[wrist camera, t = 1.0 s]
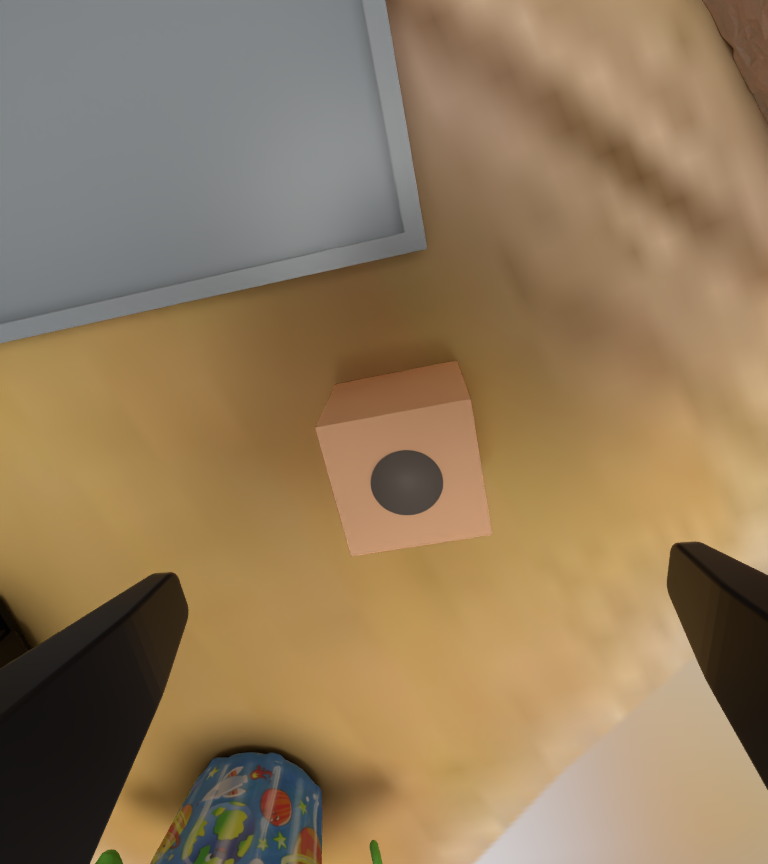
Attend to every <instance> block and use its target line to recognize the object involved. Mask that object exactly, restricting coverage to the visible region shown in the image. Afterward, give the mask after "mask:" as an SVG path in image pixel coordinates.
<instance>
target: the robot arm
mask: <svg viewBox="0 0 768 864" xmlns="http://www.w3.org/2000/svg"><path fill="white" fill-rule="evenodd" d="M667 589H668V593H669V596H670V598H671V601H672V603H673V605H674V608H675V610H676V612H677V615H678V617H679V619H680V622H681V624H682V626H683V629H684V631H685V633H686V636H687V638H688V640H689V643H690V645H691V647H692V650H693V652H694V654H695V657H696V659H697V661H698V664H699V666H700V668H701V670H702V672H703V674H704V677H705V679H706V681H707V682H708V684H709V686H710V688H711V690H712V692H713V694H714V695H715V697H716V699H717V701H718V703H719V704H720V706H721V708H722V710H723V711H724V713H725V715H726V717H727V719H728V720H729V722H730V724H731V726H732V727H733V729H734V731H735V732H736V735H737V736H738V738H739V740H740V742H741V743H742V745H743V747H744V749H745V750H746V752H747V754H748V756H749V757H750V759H751V761H752V763H753V765H754V767H755V768H756V770H757V772H758V773H759V775H760V777H761V779H762V781H763V782H764V784H765V786H766V788H767V790H768V575H766V574H764V573H762V572H760V571H758V570H756V569H754V568H752V567H750V566H748V565H746V564H744V563H742V562H740V561H738V560H736V559H734V558H732V557H730V556H728V555H726V554H724V553H722V552H720V551H717V550H715V549H713V548H711V547H709V546H707V545H705V544H703V543H701V542H681V543H675V544H674V545H673V546H672V548H671V551H670V558H669V567H668V576H667ZM187 619H188V604H187V601H186V598H185V596H184V593H183V590H182V587H181V584H180V581H179V578H178V576H177V575H176V574H175V573H172V572H168V573H154V574H151V575H150V576H148V577H146V578H145V579H143V580H142V581H140V582H138V583H137V584H135V585H134V586H132V587H130V588H129V589H127V590H126V591H124V592H122V593H121V594H119V595H118V596H116V597H114V598H113V599H111V600H110V601H108V602H106V603H105V604H103V605H102V606H100V607H98V608H97V609H95V610H94V611H92V612H90V613H89V614H87V615H86V616H84V617H82V618H81V619H79V620H78V621H76V622H74V623H73V624H71V625H70V626H68V627H66V628H65V629H63V630H62V631H60V632H58V633H57V634H55V635H54V636H52V637H50V638H49V639H47V640H46V641H44V642H42V643H41V644H39V645H38V646H36V647H34V648H33V649H31V648H30V647H29V645H28V644H27V642H26V640H25V639H24V637H23V635H22V634H21V632H20V630H19V629H18V627H17V625H16V624H15V622H14V620H13V619H12V617H11V615H10V614H9V612H8V610H7V609H6V607H5V605H4V604H3V602H2V601H1V600H0V864H90V862H91V860H92V857H93V855H94V853H95V850H96V848H97V846H98V844H99V841H100V839H101V837H102V834H103V832H104V830H105V827H106V825H107V823H108V821H109V818H110V816H111V814H112V811H113V809H114V807H115V804H116V802H117V800H118V798H119V795H120V793H121V791H122V788H123V786H124V784H125V782H126V779H127V777H128V775H129V772H130V770H131V768H132V765H133V763H134V761H135V759H136V756H137V754H138V752H139V749H140V747H141V745H142V742H143V740H144V738H145V736H146V733H147V731H148V729H149V726H150V724H151V722H152V719H153V717H154V715H155V713H156V710H157V708H158V705H159V703H160V700H161V698H162V696H163V693H164V690H165V687H166V684H167V682H168V678H169V675H170V672H171V669H172V666H173V663H174V660H175V657H176V654H177V650H178V647H179V644H180V641H181V638H182V635H183V632H184V629H185V626H186V623H187Z"/></svg>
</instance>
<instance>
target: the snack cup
mask: <svg viewBox="0 0 768 864" xmlns="http://www.w3.org/2000/svg"><path fill="white" fill-rule="evenodd" d="M322 816H323V815H322V792H321V789H320V787H319V786H318V785H317V784H315V783H314V782H313V781H312V779H311V778H310V777H309V776H308V775H307V774H306V773H305V771H304V770H303V769H301V768H299V767H298V766H297V765H296V764H293V763H291V762H289V761H288V760H285V759H284V758H283V757H282V756H281V755H280V754H277V753H268V754H262V753H255V752H246V753H239V754H234V755H232V756H230V757H228V758H226V757H222V758H220V757H216V758H214V759H213V760H212V761H211V762H210V764H209V765H208V767H207V768H206V769H205V770H204V772H203V773H202V774H201V775H200V776H199V777H198V778H197V780H196V781H195V783H194V784H193V786H192V788H191V790H190V792H189V793H188V795H187V797H186V799H185V801H184V803H183V805H182V806H181V808H180V810H179V812H178V814H177V816H176V817H175V819H174V821H173V823H172V825H171V827H170V828H169V830H168V832H167V834H166V836H165V837H164V839H163V841H162V843H161V845H160V847H159V848H158V850H157V852H156V854H155V856H154V857H153V859H152V861H151V863H150V864H322V856H321V855H322ZM370 851H371V856H372V861H373V864H382V859H381V855H380V851H379V847H378V843H377V842H376V841H375V840H372V841H371V843H370ZM95 864H123V862H122V859H121V858H120V855H119V853H118V852H117V851H116V850H107V851H105V852H104V853H102V855H101V856H100V857H99V859H98V861H97V862H96V863H95Z"/></svg>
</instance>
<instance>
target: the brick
mask: <svg viewBox="0 0 768 864" xmlns="http://www.w3.org/2000/svg"><path fill="white" fill-rule="evenodd" d="M703 2H704V3H705V5H706V6H707V8H708V9H709V11H710V12H711V14H712V16H713V18H714V20H715V23H716V25H717V27H718V29H719V31H720V33H721V35H722V37H723V38H724V39H725V40H726V41H727V42H728V43H729V44H730V45H731V46H732V47H733V48H734V55H733V58H734V61H735V63H736V65H737V67H738V69H739V70H740V72H741V74H742V76H743V78H744V80H745V82H746V84H747V86H748V87H749V89H750V91H751V92H752V93H753V94H754V97H755V100H756V102H757V104H758V107H759V109H760V111H761V112H762V114H763V116H764V117H765V119H766V121H767V123H768V0H703Z"/></svg>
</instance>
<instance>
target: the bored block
mask: <svg viewBox="0 0 768 864" xmlns="http://www.w3.org/2000/svg"><path fill="white" fill-rule="evenodd" d="M315 429H316V433H317V437H318V440H319V444H320V447H321V451H322V454H323V458H324V462H325V465H326V469H327V472H328V476H329V479H330V483H331V486H332V490H333V494H334V497H335V501H336V504H337V508H338V511H339V515H340V518H341V522H342V526H343V529H344V533H345V536H346V540H347V543H348V547H349V550H350V554H351V556H358V555H364V554H371V553H377V552H384V551H390V550H397V549H403V548H410V547H416V546H423V545H429V544H436V543H442V542H449V541H455V540H462V539H468V538H475V537H482V536H488V535H492V530H491V524H490V517H489V511H488V505H487V498H486V492H485V486H484V479H483V473H482V467H481V460H480V454H479V448H478V441H477V435H476V429H475V422H474V416H473V410H472V403H471V398H470V395H469V393H468V390H467V387H466V384H465V382H464V379H463V376H462V374H461V371H460V368H459V365H458V363H457V360H456V361H451V362H446V363H441V364H436V365H431V366H426V367H421V368H415V369H410V370H405V371H400V372H395V373H390V374H385V375H380V376H375V377H370V378H364V379H359V380H354V381H349V382H344V383H339V384H335V386H334V388H333V390H332V393H331V395H330V397H329V399H328V401H327V403H326V405H325V408H324V410H323V412H322V414H321V416H320V418H319V420H318V423H317V425H316V427H315Z"/></svg>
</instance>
